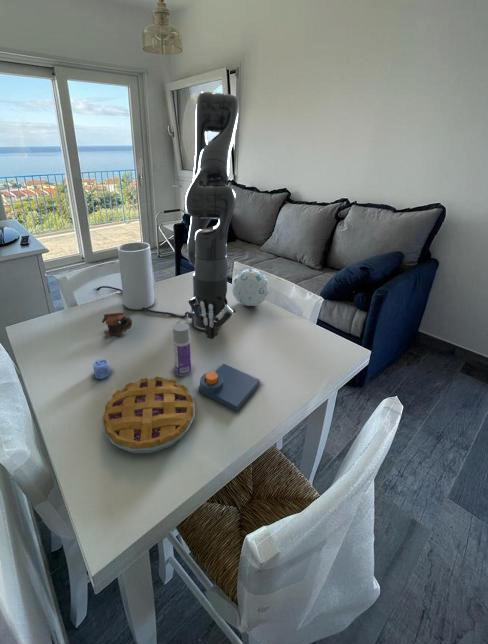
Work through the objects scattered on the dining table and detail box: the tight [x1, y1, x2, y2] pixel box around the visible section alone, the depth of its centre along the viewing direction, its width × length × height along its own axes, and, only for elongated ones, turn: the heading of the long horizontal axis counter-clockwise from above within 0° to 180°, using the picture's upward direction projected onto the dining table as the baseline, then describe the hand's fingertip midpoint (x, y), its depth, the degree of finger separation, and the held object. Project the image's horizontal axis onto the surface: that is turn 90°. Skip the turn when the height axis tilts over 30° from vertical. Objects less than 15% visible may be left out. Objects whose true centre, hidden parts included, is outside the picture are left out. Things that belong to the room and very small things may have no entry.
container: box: [172, 322, 192, 377], centre depth 91 cm, size 5×5×15 cm
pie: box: [101, 376, 196, 454], centre depth 76 cm, size 22×22×5 cm
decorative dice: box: [92, 358, 110, 380], centre depth 92 cm, size 4×4×4 cm
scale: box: [198, 363, 261, 412], centre depth 86 cm, size 12×12×4 cm
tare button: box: [206, 371, 218, 385], centre depth 85 cm, size 3×3×2 cm
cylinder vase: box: [117, 241, 155, 311], centre depth 129 cm, size 12×12×25 cm
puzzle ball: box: [231, 268, 270, 307], centre depth 130 cm, size 15×15×15 cm
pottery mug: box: [101, 311, 133, 338], centre depth 114 cm, size 12×10×8 cm
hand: (211, 337), depth 80 cm, fingers closed
